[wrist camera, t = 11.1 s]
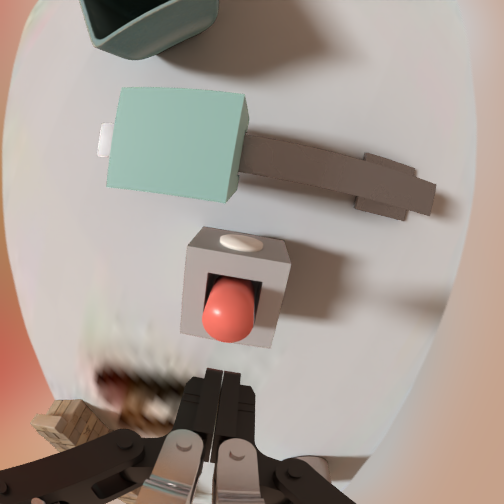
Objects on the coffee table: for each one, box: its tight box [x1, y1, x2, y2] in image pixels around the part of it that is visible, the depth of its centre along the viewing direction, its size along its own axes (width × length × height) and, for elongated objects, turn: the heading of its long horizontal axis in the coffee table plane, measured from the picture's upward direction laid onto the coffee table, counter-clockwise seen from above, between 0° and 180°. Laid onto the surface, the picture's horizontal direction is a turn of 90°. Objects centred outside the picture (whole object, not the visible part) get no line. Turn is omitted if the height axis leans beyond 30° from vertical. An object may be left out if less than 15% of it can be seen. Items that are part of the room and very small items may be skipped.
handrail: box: [97, 123, 436, 221], centre depth 20 cm, size 5×26×6 cm, turn 81°
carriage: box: [106, 87, 249, 203], centre depth 15 cm, size 5×6×7 cm
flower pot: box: [79, 0, 219, 60], centre depth 15 cm, size 9×9×9 cm
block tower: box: [30, 399, 142, 504], centre depth 33 cm, size 8×8×29 cm
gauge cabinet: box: [180, 227, 291, 348], centre depth 23 cm, size 7×7×6 cm
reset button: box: [202, 275, 255, 343], centre depth 19 cm, size 3×3×4 cm
